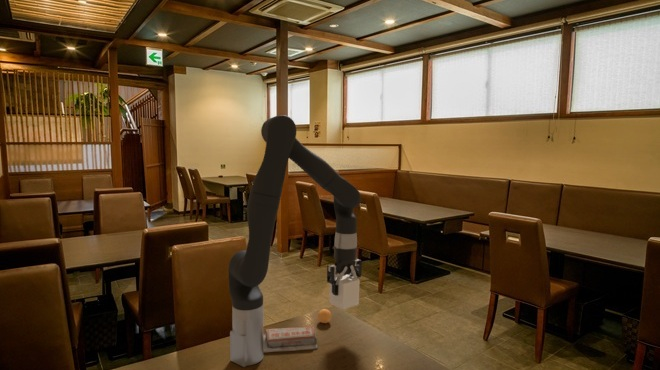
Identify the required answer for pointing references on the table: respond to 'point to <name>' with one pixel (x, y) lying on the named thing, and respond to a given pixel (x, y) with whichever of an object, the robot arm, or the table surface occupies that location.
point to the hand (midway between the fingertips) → (344, 292)
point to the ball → (324, 316)
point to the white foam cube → (346, 293)
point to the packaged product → (289, 339)
